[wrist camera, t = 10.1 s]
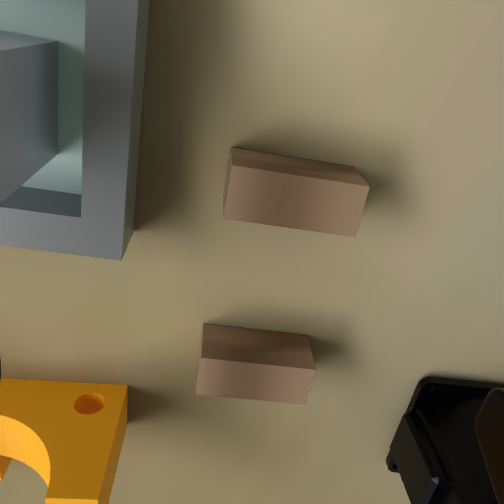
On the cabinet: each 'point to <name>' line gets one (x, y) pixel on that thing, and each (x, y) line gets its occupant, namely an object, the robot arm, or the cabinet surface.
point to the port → (84, 128)
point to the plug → (26, 107)
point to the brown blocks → (285, 215)
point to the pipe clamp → (64, 435)
